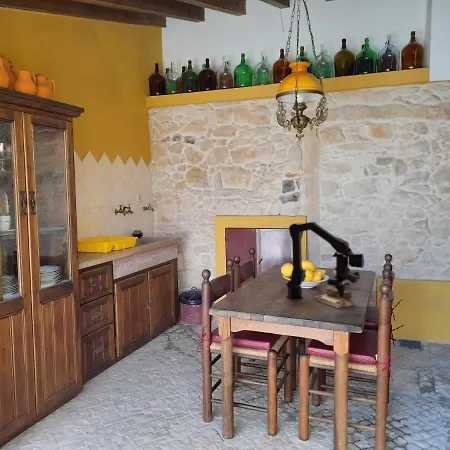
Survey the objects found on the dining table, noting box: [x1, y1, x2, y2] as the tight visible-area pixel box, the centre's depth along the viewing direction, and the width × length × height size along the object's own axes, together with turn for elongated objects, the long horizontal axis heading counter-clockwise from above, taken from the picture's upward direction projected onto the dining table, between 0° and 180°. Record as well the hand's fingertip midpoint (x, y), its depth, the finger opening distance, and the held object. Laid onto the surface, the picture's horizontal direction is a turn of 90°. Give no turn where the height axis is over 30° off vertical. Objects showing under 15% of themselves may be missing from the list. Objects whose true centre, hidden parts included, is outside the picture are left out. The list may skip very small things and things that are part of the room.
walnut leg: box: [325, 286, 352, 300], centre depth 223 cm, size 14×4×3 cm, turn 37°
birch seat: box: [315, 293, 354, 309], centre depth 221 cm, size 10×17×2 cm, turn 25°
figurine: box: [332, 260, 351, 279], centre depth 257 cm, size 7×9×15 cm
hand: (341, 297), depth 219 cm, fingers closed
